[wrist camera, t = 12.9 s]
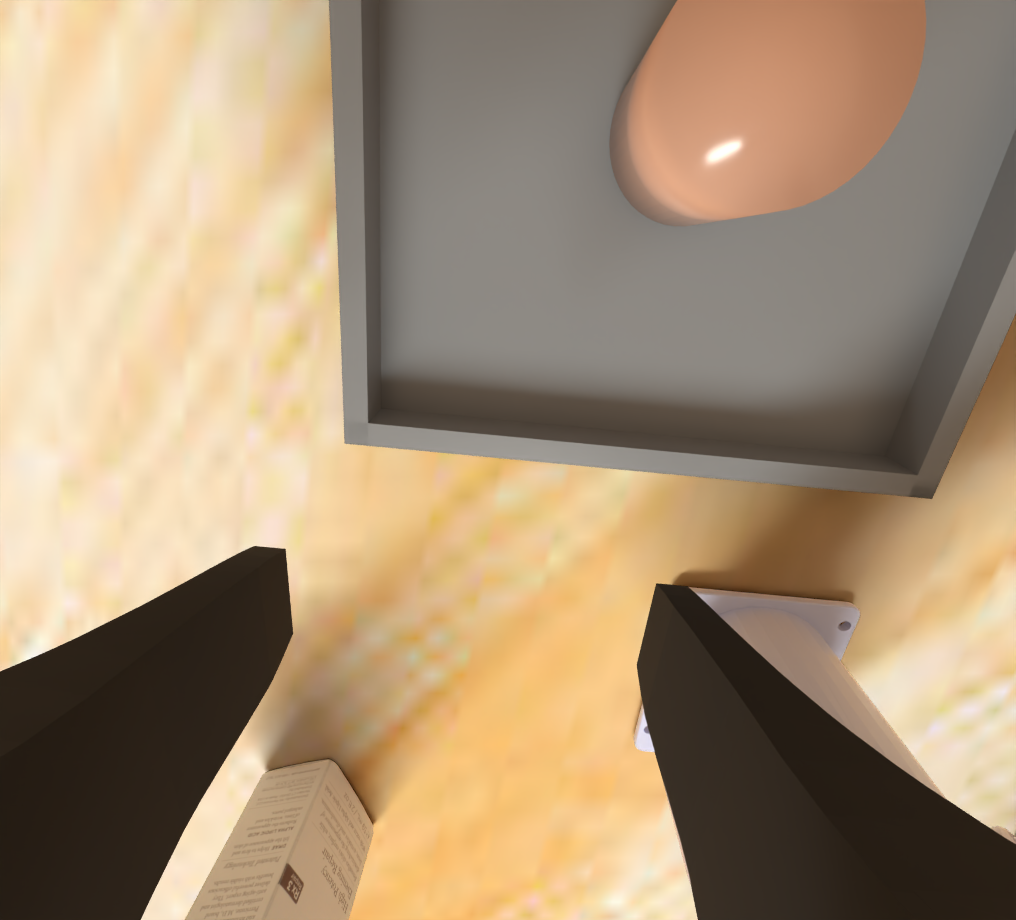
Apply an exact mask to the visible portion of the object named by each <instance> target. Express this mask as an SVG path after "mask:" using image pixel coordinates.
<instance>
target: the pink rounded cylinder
mask: <svg viewBox="0 0 1016 920" xmlns="http://www.w3.org/2000/svg"><path fill="white" fill-rule="evenodd" d="M925 39H926V9H925V0H677V1H676V3H675V5H674V6H673V8H672V10H671V11H670V13H669V15H668V16H667V18H666V20H665V21H664V23H663V25H662V26H661V28H660V30H659V31H658V33H657V35H656V36H655V38H654V40H653V41H652V43H651V45H650V46H649V48H648V50H647V51H646V53H645V55H644V56H643V58H642V60H641V61H640V63H639V65H638V66H637V68H636V70H635V71H634V73H633V75H632V76H631V78H630V80H629V81H628V83H627V85H626V86H625V88H624V90H623V92H622V94H621V96H620V98H619V101H618V103H617V105H616V108H615V112H614V115H613V118H612V124H611V129H610V140H609V147H610V159H611V165H612V169H613V173H614V176H615V179H616V181H617V184H618V186H619V188H620V190H621V191H622V193H623V195H624V196H625V198H626V199H627V200H628V201H629V203H630V204H631V205H632V206H633V207H634V208H635V209H636V210H637V211H638V212H640V213H641V214H643V215H644V216H645V217H647V218H649V219H651V220H653V221H655V222H658V223H661V224H664V225H670V226H683V227H686V226H693V225H700V224H706V223H712V222H718V221H724V220H730V219H736V218H742V217H748V216H754V215H760V214H766V213H772V212H778V211H784V210H789V209H793V208H796V207H800V206H804V205H806V204H808V203H811V202H813V201H816V200H818V199H820V198H822V197H824V196H826V195H828V194H829V193H831V192H833V191H835V190H836V189H838V188H839V187H840V186H842V185H843V184H845V183H846V182H848V181H849V180H850V179H851V178H852V177H854V176H855V175H856V174H857V173H858V172H859V171H860V170H862V169H863V168H864V167H865V166H866V165H867V164H868V163H869V161H870V160H871V159H872V158H873V157H874V156H875V155H876V154H877V153H878V151H879V150H880V149H881V148H882V146H883V145H884V144H885V142H886V141H887V140H888V138H889V137H890V135H891V134H892V132H893V131H894V129H895V127H896V126H897V124H898V122H899V121H900V119H901V117H902V115H903V113H904V111H905V109H906V107H907V105H908V103H909V101H910V98H911V95H912V93H913V90H914V87H915V85H916V82H917V79H918V75H919V71H920V67H921V63H922V59H923V52H924V46H925Z"/></svg>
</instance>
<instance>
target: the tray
mask: <svg viewBox="0 0 1016 920" xmlns="http://www.w3.org/2000/svg"><path fill="white" fill-rule="evenodd" d="M676 1H677V0H329V11H330V40H331V68H332V97H333V125H334V154H335V182H336V211H337V239H338V268H339V296H340V325H341V353H342V382H343V410H344V439H345V444H355V445H366V446H377V447H387V448H398V449H408V450H419V451H430V452H440V453H451V454H462V455H472V456H483V457H493V458H504V459H515V460H525V461H536V462H547V463H557V464H568V465H578V466H589V467H600V468H610V469H621V470H631V471H642V472H653V473H663V474H674V475H685V476H695V477H706V478H716V479H727V480H738V481H748V482H759V483H770V484H780V485H791V486H801V487H812V488H823V489H833V490H844V491H854V492H865V493H876V494H886V495H897V496H908V497H918V498H929V499H932V498H933V495H934V493H935V491H936V489H937V487H938V484H939V482H940V480H941V478H942V476H943V473H944V471H945V469H946V467H947V465H948V462H949V460H950V458H951V456H952V454H953V451H954V449H955V447H956V445H957V442H958V440H959V438H960V436H961V434H962V431H963V429H964V427H965V425H966V423H967V420H968V418H969V416H970V414H971V412H972V409H973V407H974V405H975V403H976V401H977V398H978V396H979V394H980V392H981V389H982V387H983V385H984V383H985V381H986V378H987V376H988V374H989V372H990V370H991V367H992V365H993V363H994V361H995V359H996V356H997V354H998V352H999V350H1000V348H1001V345H1002V343H1003V341H1004V339H1005V336H1006V334H1007V332H1008V330H1009V328H1010V325H1011V323H1012V321H1013V319H1014V317H1015V314H1016V0H925V9H926V39H925V46H924V52H923V59H922V63H921V67H920V71H919V75H918V79H917V82H916V85H915V87H914V90H913V93H912V95H911V98H910V101H909V103H908V105H907V107H906V109H905V111H904V113H903V115H902V117H901V119H900V121H899V122H898V124H897V126H896V127H895V129H894V131H893V132H892V134H891V135H890V137H889V138H888V140H887V141H886V142H885V144H884V145H883V146H882V148H881V149H880V150H879V151H878V153H877V154H876V155H875V156H874V157H873V158H872V159H871V160H870V161H869V163H868V164H867V165H866V166H865V167H864V168H863V169H862V170H860V171H859V172H858V173H857V174H856V175H855V176H854V177H852V178H851V179H850V180H849V181H848V182H846V183H845V184H843V185H842V186H840V187H839V188H838V189H836V190H835V191H833V192H831V193H829V194H828V195H826V196H824V197H822V198H820V199H818V200H816V201H813V202H811V203H808V204H806V205H804V206H800V207H796V208H793V209H789V210H784V211H778V212H772V213H766V214H760V215H754V216H748V217H742V218H736V219H730V220H724V221H718V222H712V223H706V224H700V225H693V226H686V227H683V226H670V225H664V224H661V223H658V222H655V221H653V220H651V219H649V218H647V217H645V216H644V215H643V214H641V213H640V212H638V211H637V210H636V209H635V208H634V207H633V206H632V205H631V204H630V203H629V201H628V200H627V199H626V198H625V196H624V195H623V193H622V191H621V190H620V188H619V186H618V184H617V181H616V179H615V176H614V173H613V169H612V165H611V159H610V147H609V140H610V129H611V124H612V118H613V115H614V112H615V108H616V105H617V103H618V101H619V98H620V96H621V94H622V92H623V90H624V88H625V86H626V85H627V83H628V81H629V80H630V78H631V76H632V75H633V73H634V71H635V70H636V68H637V66H638V65H639V63H640V61H641V60H642V58H643V56H644V55H645V53H646V51H647V50H648V48H649V46H650V45H651V43H652V41H653V40H654V38H655V36H656V35H657V33H658V31H659V30H660V28H661V26H662V25H663V23H664V21H665V20H666V18H667V16H668V15H669V13H670V11H671V10H672V8H673V6H674V5H675V3H676Z"/></svg>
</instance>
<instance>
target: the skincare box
mask: <svg viewBox="0 0 1016 920" xmlns="http://www.w3.org/2000/svg"><path fill="white" fill-rule="evenodd" d="M372 836H373V824H372V822H371V821H370V819H369V817H368V815H367V813H366V811H365V809H364V807H363V806H362V804H361V802H360V800H359V799H358V797H357V795H356V794H355V792H354V790H353V789H352V787H351V785H350V784H349V782H348V781H347V779H346V778H345V776H344V774H343V773H342V771H341V770H340V768H339V767H338V765H337V764H336V763H335V762H334V761H332V760H330V759H327V760H320V761H313V762H307V763H302V764H297V765H292V766H287V767H283V768H279V769H275V770H272V771H269V772H266V773H264V774H263V775H262V777H261V779H260V781H259V783H258V784H257V786H256V788H255V790H254V792H253V794H252V796H251V798H250V799H249V801H248V803H247V805H246V807H245V809H244V811H243V813H242V814H241V816H240V818H239V820H238V822H237V824H236V826H235V828H234V829H233V831H232V833H231V835H230V837H229V839H228V840H227V842H226V844H225V846H224V848H223V850H222V852H221V853H220V855H219V857H218V859H217V861H216V863H215V865H214V866H213V868H212V870H211V872H210V874H209V876H208V877H207V879H206V881H205V883H204V885H203V887H202V889H201V891H200V892H199V894H198V896H197V898H196V900H195V902H194V904H193V905H192V907H191V909H190V911H189V913H188V915H187V917H186V918H185V920H348V919H349V916H350V912H351V909H352V906H353V902H354V899H355V895H356V892H357V888H358V885H359V881H360V878H361V874H362V871H363V867H364V864H365V861H366V857H367V853H368V850H369V847H370V843H371V840H372Z"/></svg>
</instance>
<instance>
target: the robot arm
mask: <svg viewBox="0 0 1016 920" xmlns="http://www.w3.org/2000/svg"><path fill="white" fill-rule="evenodd" d="M859 618H860V611H859V609H858V608H857V607H856V606H855V605H854V604H852V603H850V602H843V601H832V600H821V599H810V598H800V597H789V596H778V595H767V594H757V593H746V592H735V591H724V590H714V589H703V588H692V587H688V586H678V585H667V584H656V587H655V591H654V595H653V600H652V604H651V608H650V612H649V616H648V620H647V625H646V629H645V633H644V637H643V641H642V645H641V650H640V654H639V658H638V662H637V670H638V677H639V684H640V690H641V697H642V702H643V703H642V707H641V711H640V714H639V718H638V722H637V726H636V730H635V734H634V743H635V746H636V748H637V749H639V750H641V751H648V752H655V755H656V758H657V762H658V765H659V768H660V772H661V775H662V779H663V783H664V787H665V791H666V795H667V798H668V802H669V806H670V810H671V814H672V818H673V822H674V826H675V829H676V833H677V837H678V841H679V845H680V849H681V853H682V857H683V860H684V864H685V868H686V872H687V876H688V878H689V881H690V884H691V887H692V892H693V897H694V902H695V907H696V912H697V917H698V920H1016V836H1014V835H1012V834H1011V833H1010V832H1009V831H1008V830H1007V829H1005V828H1002V827H999V826H996V827H992V828H989V827H987V826H986V825H984V824H983V823H981V822H980V821H978V820H977V819H975V818H974V817H972V816H971V815H969V814H968V813H966V812H965V811H963V810H962V809H960V808H959V807H957V806H956V805H954V804H953V803H951V802H950V801H948V800H947V799H946V798H945V797H944V795H943V794H942V793H941V792H940V790H939V789H938V788H937V786H936V785H935V784H934V782H933V781H932V780H931V778H930V777H929V776H928V775H927V773H926V772H925V771H924V769H923V768H922V767H921V765H920V764H919V763H918V761H917V760H916V759H915V758H914V756H913V755H912V754H911V752H910V751H909V750H908V748H907V747H906V746H905V745H904V743H903V742H902V741H901V739H900V738H899V737H898V735H897V734H896V733H895V731H894V730H893V729H892V728H891V726H890V725H889V724H888V722H887V721H886V720H885V718H884V717H883V716H882V714H881V713H880V712H879V711H878V709H877V708H876V707H875V705H874V704H873V703H872V701H871V700H870V699H869V697H868V696H867V695H866V694H865V692H864V691H863V690H862V688H861V687H860V686H859V684H858V683H857V682H856V680H855V679H854V678H853V677H852V675H851V674H850V673H849V671H848V670H847V669H846V667H845V666H844V665H843V663H842V662H841V659H842V657H843V654H844V652H845V650H846V647H847V645H848V643H849V641H850V638H851V636H852V634H853V631H854V629H855V627H856V624H857V622H858V620H859ZM842 622H844V623H843V624H841V625H839V624H840V623H842ZM292 635H293V627H292V616H291V605H290V594H289V583H288V571H287V560H286V549H280V548H269V547H258V546H253V547H251V548H249V549H247V550H245V551H242V552H240V553H238V554H236V555H235V556H233V557H231V558H229V559H227V560H225V561H223V562H221V563H219V564H218V565H216V566H214V567H212V568H210V569H208V570H207V571H205V572H203V573H201V574H199V575H197V576H196V577H194V578H192V579H190V580H188V581H186V582H185V583H183V584H181V585H179V586H177V587H175V588H173V589H172V590H170V591H168V592H166V593H164V594H162V595H161V596H159V597H157V598H155V599H153V600H151V601H149V602H148V603H146V604H144V605H142V606H140V607H138V608H136V609H134V610H132V611H130V612H128V613H126V614H124V615H122V616H120V617H118V618H116V619H114V620H112V621H110V622H108V623H106V624H104V625H102V626H100V627H98V628H96V629H94V630H92V631H90V632H88V633H86V634H84V635H82V636H80V637H78V638H75V639H73V640H71V641H69V642H67V643H65V644H63V645H60V646H58V647H56V648H54V649H52V650H49V651H47V652H45V653H43V654H40V655H38V656H36V657H34V658H31V659H29V660H26V661H24V662H22V663H19V664H17V665H15V666H12V667H10V668H8V669H5V670H3V671H0V920H141V918H142V916H143V914H144V911H145V909H146V907H147V905H148V903H149V901H150V899H151V897H152V894H153V892H154V890H155V888H156V886H157V884H158V882H159V880H160V878H161V876H162V874H163V872H164V870H165V868H166V866H167V864H168V862H169V860H170V858H171V856H172V854H173V852H174V850H175V848H176V846H177V844H178V842H179V840H180V838H181V836H182V833H183V832H184V830H185V828H186V826H187V824H188V822H189V821H190V819H191V817H192V815H193V813H194V812H195V810H196V808H197V806H198V804H199V803H200V801H201V799H202V797H203V796H204V794H205V793H206V791H207V789H208V788H209V786H210V784H211V783H212V781H213V779H214V778H215V776H216V774H217V773H218V771H219V769H220V768H221V766H222V764H223V763H224V761H225V759H226V758H227V756H228V754H229V753H230V751H231V750H232V748H233V746H234V745H235V743H236V741H237V740H238V738H239V736H240V735H241V733H242V731H243V730H244V728H245V726H246V725H247V723H248V721H249V720H250V718H251V716H252V715H253V713H254V711H255V710H256V708H257V706H258V705H259V703H260V701H261V699H262V698H263V696H264V694H265V693H266V691H267V689H268V688H269V686H270V684H271V682H272V680H273V678H274V676H275V674H276V671H277V669H278V667H279V665H280V663H281V661H282V658H283V656H284V654H285V651H286V649H287V646H288V644H289V642H290V639H291V637H292ZM646 726H647V727H646Z"/></svg>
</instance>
